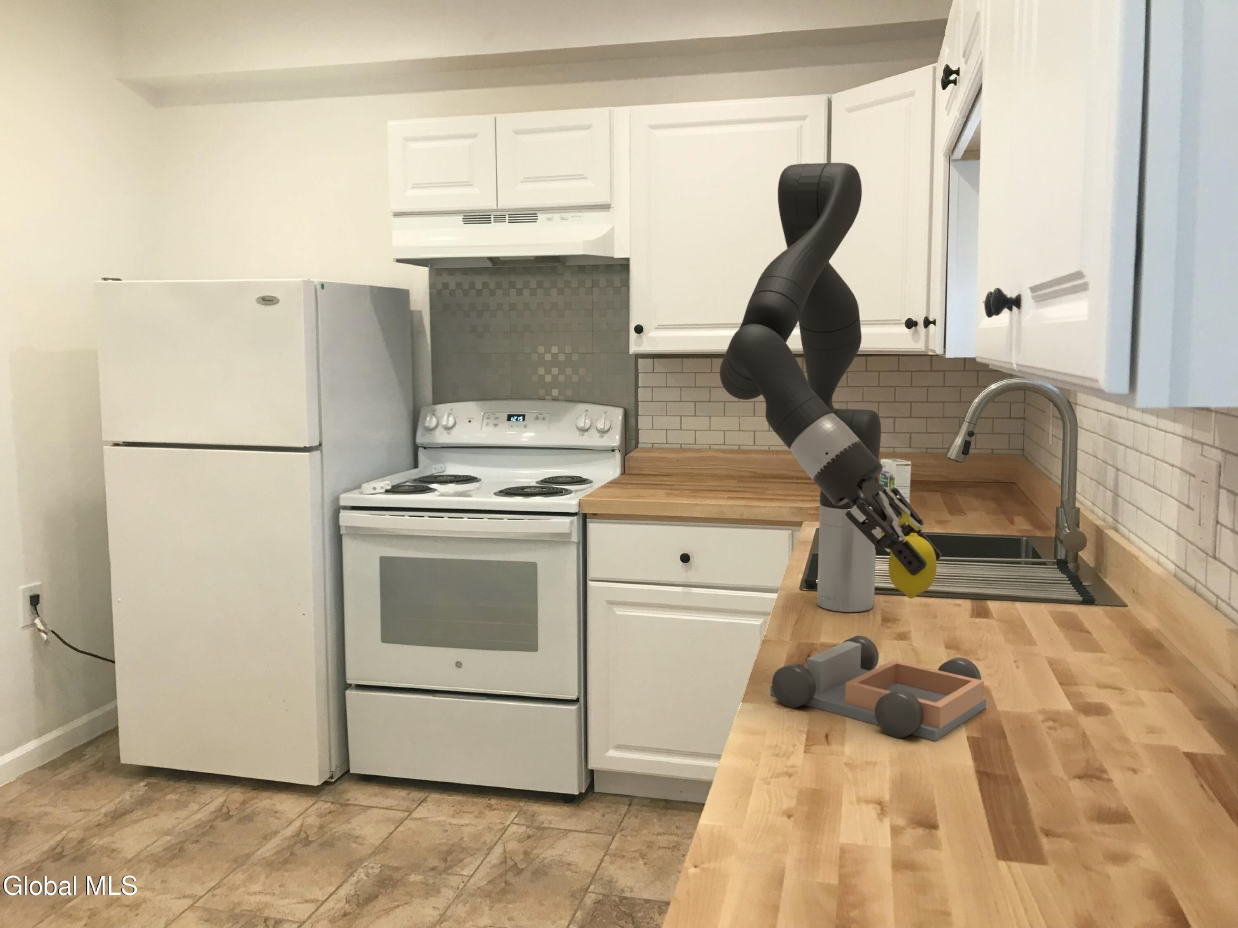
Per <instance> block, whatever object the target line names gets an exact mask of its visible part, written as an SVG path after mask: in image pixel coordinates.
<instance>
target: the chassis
mask: <svg viewBox="0 0 1238 928" xmlns="http://www.w3.org/2000/svg"><path fill="white" fill-rule="evenodd" d="M879 654H880V653H879V650H878V648H877V646H876V645H875V643H874V642H873V640H871V639H870V638H869V637H867V636H863V635H855V636H852V637H850V638H848V639H845V640H844V641H842V642H841V643H839V644H838V645H835V646H833V647H830V648H829V649H825V650H824V651H822V652H819V653H816V654H815V655H813V656H810V657H807V658H806V666H804V665H803V664H800V663H789V664H787V665H785V666H783V667H780V668H778V669H777V670H776V671H775V672H774V674H773V675H772V680H771V685H770V692H769V693H770V694H769V695H770V696H771V697H774V698H776V700H778V701H779V703H781V704H782V705H783V706H785V707H787V708H792V709H793V708H794V709H795V708H799V707H801V706H807V707H811V708H815V709H818V710H822V711H826V712H829V713H832V714H837V715H840V716H844V717H848V718H850V719H854V720H858V721H861V722H865V723H869V724H872V725H875V726H879V727H880V729H881V730H882V731H883V732H884V733H885V734H887V735H888V736H890V737H892V738H896V739H900V738H901V739H903V738H906V737H908V736H910V735H912V736H915V737H919V738H922V739H925V740H929V741H932V742H933V741H934V742H937V741H938V740H940V739H941V738H943V737H944V736H945V735H947V734H948V733H950V732H952V731H953V730H955V729H956V728H958V727H959V726H961V725H962V724H963V723H966V722H967V721H969V720H970V719H971V718H973V717H974V716H977V714H979V713H980V712H982V711H983V710H985V709H986V708H987V707H986V706H987V698H985V697H984V685H985V684H984V683H985V681H984V680H982V675H981V672H980V670H979V668H978V666H976V664H975V663H974V662H972V661H971V660H970V659H967V658H965V657H960V656H957V657H953V658H950V659H949V660H947V661H945V662H943V663H941V665H940V666H939V667H938V669H934V668H930V667H925V666H922V665H915V664H912V663H908V662H903V661H898V660H896V659H892V660H889V661H888V662H885V663H883V664H882V665H879V666H878V663H879V660H880V659H879V658H880V655H879Z"/></svg>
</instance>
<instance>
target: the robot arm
mask: <svg viewBox="0 0 1238 928" xmlns="http://www.w3.org/2000/svg"><path fill="white" fill-rule="evenodd" d="M778 179H779V180H778V184H777V205H778V213H779V217H780V222H781V229H782V232H783V235H784V236H783V237H784V240H785V245H786V249H785V250H784V251H782V252H781V253H780V254H778V256H776V257H775V258H774V259H773V260H772V261H771V262H770V263H769V264H768V265H767V266H766V267H765V269H764V270H763V272H762V273H761V274H760V277H759V278H758V281H757V283H756V285H755V287H754V290H753V292H752V293H751V296H750V298H749V301H748V303H747V305H746V309H745V311H744V316H743V319H742V322H741V324H740V326H739V328H738V330H737V331H736V332H735V333H734V334H733V336H732V337H731V339H730V341H729V344H728V346H727V348H726V352H725V354H724V356H723V358H722V361H721V364H720V367H719V377H720V382H721V384H722V387H723V388H724V390H725V391H726V393H728V394H729V395H730V396H731V397H733V398H735V399H738V400H744V401H746V400H747V401H748V400H754V399H757V398H759V397H761V396H762V397H763V399H764V402H765V413H764V414H765V415H764V416H765V420H766V422H767V425H769V428H771V429H772V430H773V432H774V433H775V434H776V435H777V437H778V438H779V439H780V440H781V441H782V443H783V444H784V445H785V446H786V447H787V448H788V449H789V451H790V452H791V453H792V455H793V456H794V459H796V461H797V463H799V466H801V468H802V469H803V470H804V471H805V473H806V474H807V475H808V477H810V478H811V480H812V481H813V483H815V484H816V485H817V487H818V488H819V490H820V491H819V518H818V519H819V522H818V523H819V524H818V525H819V526H818V527H819V528H818V529H819V530H818V560H817V561H818V562H817V563H818V564H817V567H818V568H817V595H816V596H817V598H816V600H817V602H816V603H817V606H819V607H821V608H823V609H825V610H829V611H834V612H842V613H844V612H845V613H856V612H857V613H859V612H866V611H869V610H871V609H872V608H873V607H874V604H875V593H876V591H875V590H876V589H875V585H876V559H877V557H876V555H877V553H876V552H877V550H878V551H880V552H882V551H883V550H885V551H887V553H891V551H892V553H893V554H894V556H895V557H896V558H897V559H898V560H899V561H900V563H901V564H902V565H903V566H904V567H905V568H906V570H907V571H908V572H909V573H910V574H911V575H916V574H918V573H919V572H920V571H922V570H923V569H924V568H925V567H926V566H927V562H926V561H925V560H924V559H923V557H922V556H921V555H920V554H919V553H918V552H917V550H916V549H915V548H914V547H913V546H912V545H911V544H910V542H909V541H908V540H906V538H905V537H906V536H909V535H910V534H911V533H916V534H917V535H918V536H919V537H922V538H923V539H925V540H926V541H928V542H929V543H930V545H931V546H932V548H933V549H934V552H935V556H936V562H937V561H938V560H940V559H941V558H942V552H941V551H940V550H939V548H938V547H936V546H935V545H934V543H933V542H932V541H931V539H929V537H927V535H926V534H925V533H924V528H923V527H922V526H923V525H924V524H925V523H924V521H923V519H922V518H921V517H920V516H919V514H918V513H917V512H916V511H915V509H914V508H913V507H912V505H911V504H910V502H909V503H908V502H907V500H906V499H905V498H904V497H903V495H902V494H901V493H900V492H899V490H898V489H897V488H895V487H894V488H893V489H891V490H889V489H887V488H886V489H885V488H884V487H883V486H882V485H881V484H880V482H878V477H880V473H881V472H882V470H883V466H882V464H881V461H880V460H879V459H880V451H881V440H882V439H881V438H882V424H881V418H880V416H879V414H878V413H877V412H876V411H875V410H872V409H859V408H858V409H857V408H855V409H853V408H835V407H834V405H833V396H834V394H835V391H836V389H837V387H838V385H839V383H840V381H842V380H841V379H842V378H843V377H844V375H845V374H846V372H847V370H848V369H849V368H850V366H851V365H852V364H853V361H854V360H855V358H856V356H857V355H858V353H859V350H860V347H861V344H862V327H861V316H860V315H861V314H860V307H859V303H858V300H857V298H856V296H855V294H854V293H853V291H852V290H851V288H850V286H849V284H847V282H845V280H844V279H843V277H842V276H841V275H840V273H839V272H838V271H837V270H836V269H835V268H834V267H833V265H832V264H831V263H830V262H829V261H830V260H831V258H832V257H833V255H834V254H835V253H836V251H837V250H838V249H839V247H840V245H841V243H842V242H843V240H844V239H845V238H846V236H847V234H848V233H849V231H850V230H851V228H852V226H853V225H854V223H855V221H856V219H857V216H858V214H859V211H860V208H861V205H862V204H861V203H862V195H863V187H862V179H861V175H860V173H859V171H858V169H857V168H856V166H854V165H853V164H850V163H846V162H823V163H822V162H821V163H819V162H818V163H816V162H815V163H809V162H808V163H796V164H790V165H787V166H786V167H785V168H784V169H783V170H782V172H781V173H780V176H779V178H778ZM797 324H798V327H799V334H800V341H801V346H802V352H803V359H804V364H805V372H806V375H805V372H804V371H803V370H802V367H801V366H800V364H799V362H798V361H797V360H798V359H797V358H796V356H795V355H794V353H793V352H792V349H791V348H790V346H789V345H788V344H787V342H788V340H789V339H790V336H791V335H792V333H793V331H794V330H795V328H796V326H797ZM806 376H807V377H806ZM904 540H906V541H905V542H904ZM876 549H877V550H876Z"/></svg>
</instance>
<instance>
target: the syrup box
mask: <svg viewBox="0 0 1238 928" xmlns="http://www.w3.org/2000/svg"><path fill="white" fill-rule="evenodd" d="M880 463H881V464H882V466H883V470H882V472H881V473H880V475H879V483H880V484H881V485H882V486H883V487H884V488H885V489H886V488H887V489H889V490H891V489H893V488H894V487H895V488H897V489H898V490H899V492H900V493H901V494H902V495H903V497H904V498H905V499H906V500H907V502H908V503H909V504H910V498H911V497H910V495H911V473H912V461H908V460H903V459H899V458H882V459H880Z"/></svg>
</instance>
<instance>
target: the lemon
mask: <svg viewBox="0 0 1238 928" xmlns="http://www.w3.org/2000/svg"><path fill="white" fill-rule="evenodd" d="M905 538H906V540H908V541H909V542H910V544H911V545H912V546H913V547H914V548H915V549H916V550H917V552H918V553H919V554H920V555H921V556H922V557H923V559H924V560H925V561H926V562H927V566H926V567H925V568H924V569H923V570H922V571H920V572H919V573H918V574H916V575H911V574H910V573H909V572H908V571H907V570H906V568H905V567H904V566H903V565H902V564H901V563H900V561H899V560H898V559H897V558H896V557H895V556H894V554H893V553H892V551H891V552H889V553H890V555H889V558H888V567H887V568H888V574H889V579H890V582H891V583H892V584H893V586H894V587H895V588H896V589H897V590H898V591H900V592H902V593H903V594H904V595H905V596H906V597H907V598H908V599H915V598H916V597H917V596H918V595H919V594H923V593H924V592H926V591H928V590H929V588H931V586H932V584H933V583H934V582H935V578H936V575H937V569H938V566H937V565H938V563H937V561H936V556H935V552H934V549H933V548H932V546H931V545H930V543H929V542H928V541H926V540H925V539H923V538H922V537H919V536H918V535H917V534H916V533H911V534H910V535H909V536H906V537H905ZM906 540H904V542H905V541H906Z"/></svg>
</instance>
